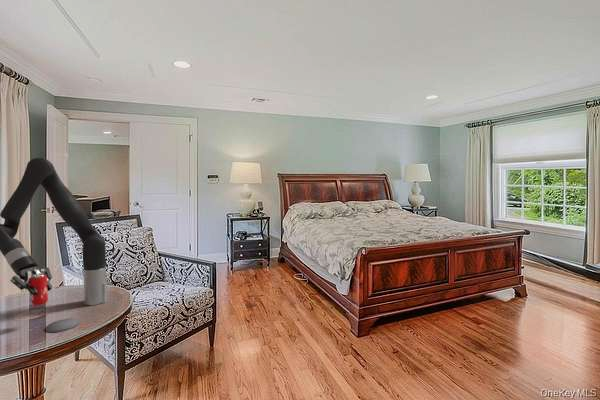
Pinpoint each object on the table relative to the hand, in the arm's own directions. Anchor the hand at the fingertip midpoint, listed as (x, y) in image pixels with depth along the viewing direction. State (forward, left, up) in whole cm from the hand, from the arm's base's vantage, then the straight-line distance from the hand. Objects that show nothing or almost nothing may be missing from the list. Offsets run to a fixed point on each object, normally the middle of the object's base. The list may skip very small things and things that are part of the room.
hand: (43, 291), depth 128 cm
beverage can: (+1, -1, -5) cm, 6 cm away
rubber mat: (-8, +4, -14) cm, 17 cm away
